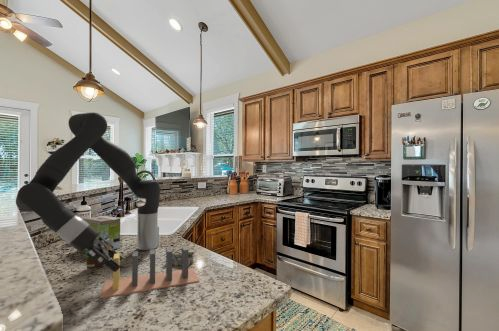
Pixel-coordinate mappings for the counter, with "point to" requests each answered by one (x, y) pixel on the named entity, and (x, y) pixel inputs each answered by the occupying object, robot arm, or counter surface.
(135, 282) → the charcoal domino
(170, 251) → the charcoal domino
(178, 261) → the egg carton
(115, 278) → the ochre domino
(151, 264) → the charcoal domino
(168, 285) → the terracotta mat
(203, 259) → the counter surface
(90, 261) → the food container
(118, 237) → the tea box
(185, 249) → the charcoal domino
